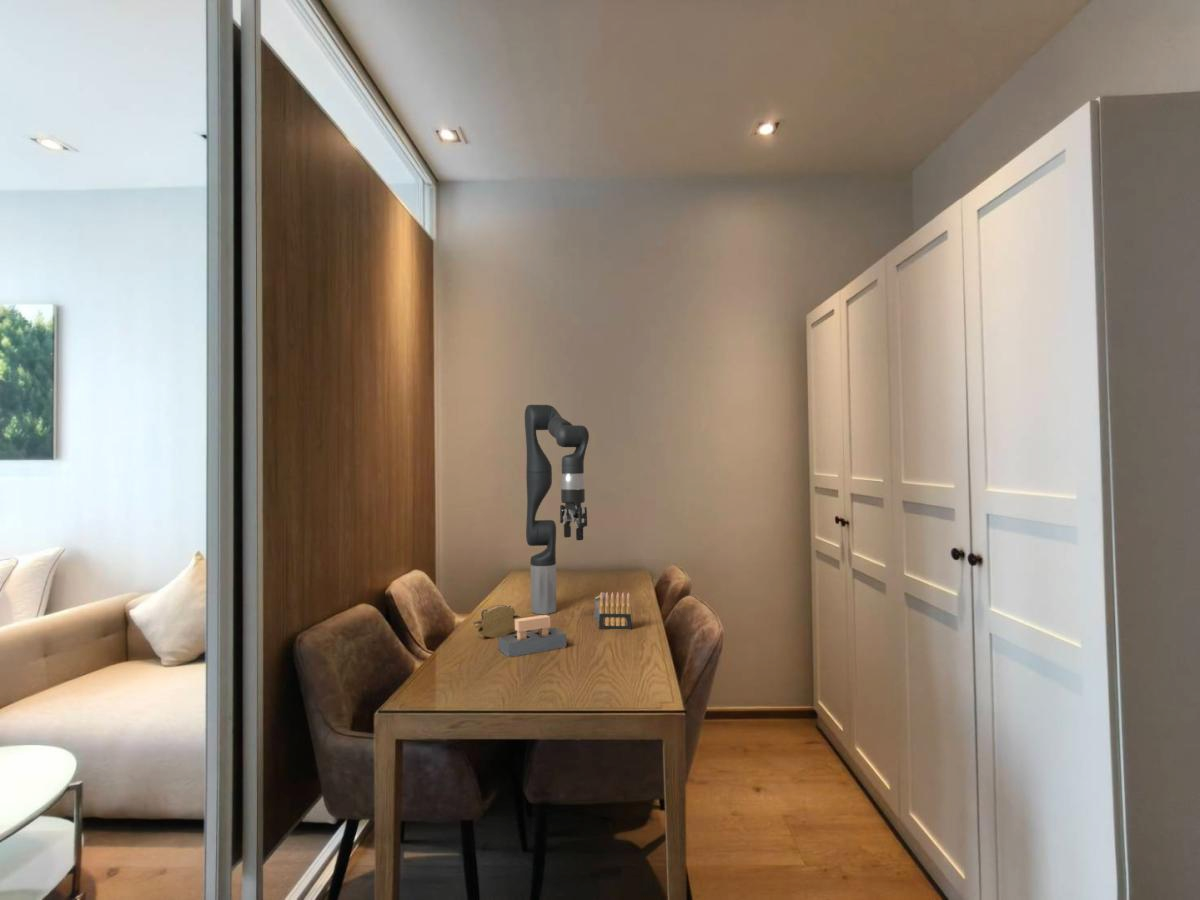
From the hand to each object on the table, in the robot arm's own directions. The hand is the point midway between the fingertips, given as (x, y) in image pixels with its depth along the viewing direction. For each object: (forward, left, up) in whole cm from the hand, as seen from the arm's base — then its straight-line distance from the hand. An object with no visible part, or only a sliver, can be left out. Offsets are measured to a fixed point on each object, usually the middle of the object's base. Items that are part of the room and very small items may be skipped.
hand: (573, 538), depth 204 cm
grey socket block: (+8, -18, -30) cm, 36 cm away
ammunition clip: (+2, +14, -30) cm, 34 cm away
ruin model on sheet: (-14, +18, -31) cm, 38 cm away
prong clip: (+8, -18, -29) cm, 35 cm away
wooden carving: (-10, -22, -30) cm, 39 cm away
